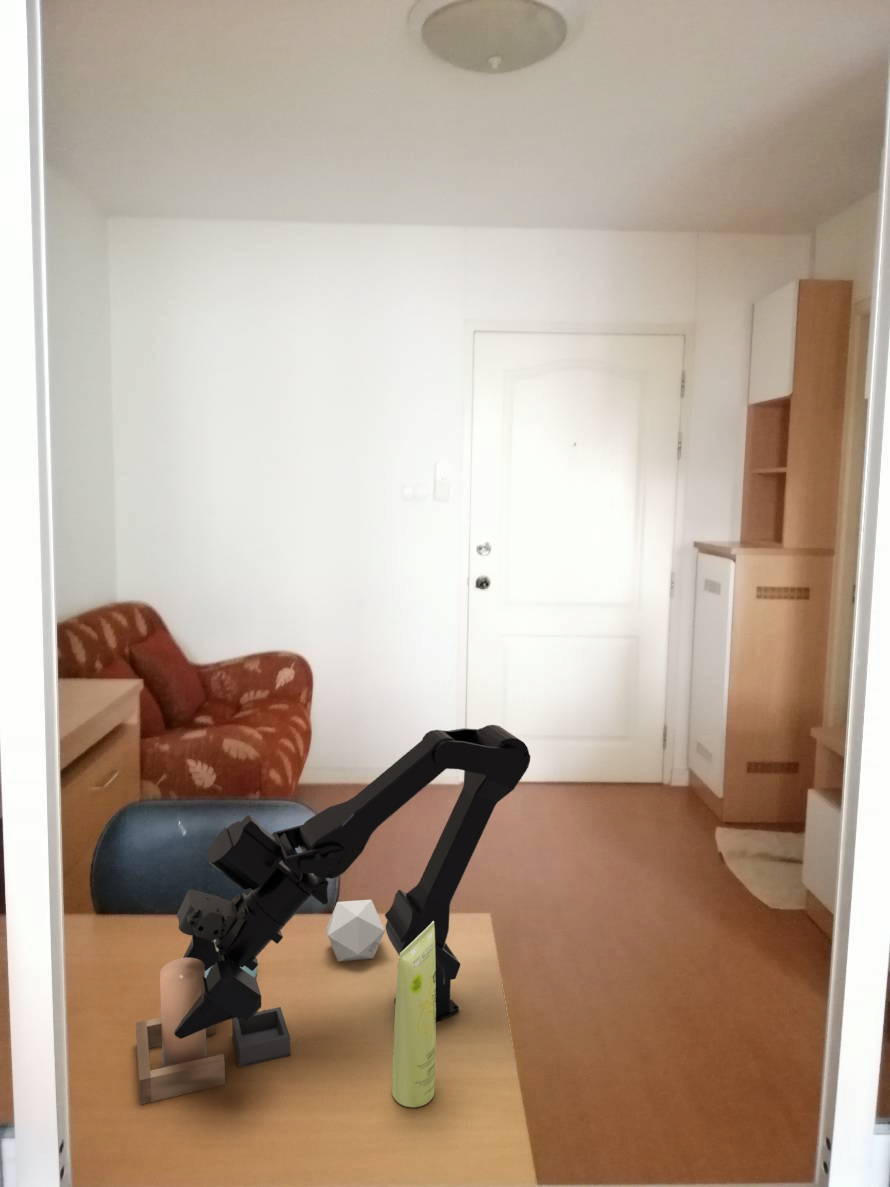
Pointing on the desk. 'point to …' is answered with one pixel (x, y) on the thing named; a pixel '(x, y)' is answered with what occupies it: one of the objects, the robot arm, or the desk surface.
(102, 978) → the desk surface
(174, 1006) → the canister
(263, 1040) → the tray
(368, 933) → the die
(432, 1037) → the tube
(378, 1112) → the desk surface
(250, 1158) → the desk surface
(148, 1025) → the channel
